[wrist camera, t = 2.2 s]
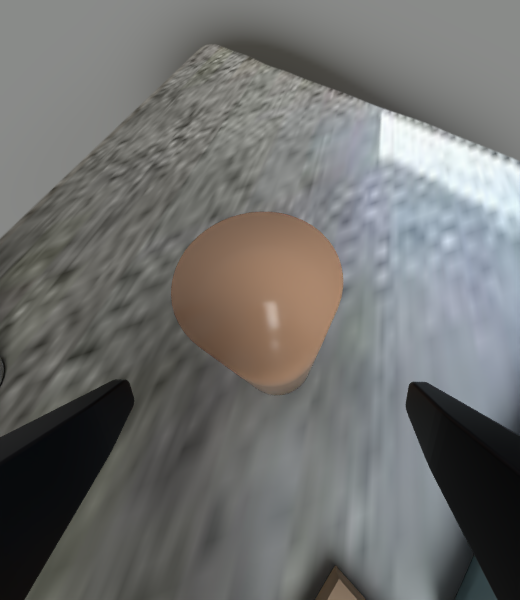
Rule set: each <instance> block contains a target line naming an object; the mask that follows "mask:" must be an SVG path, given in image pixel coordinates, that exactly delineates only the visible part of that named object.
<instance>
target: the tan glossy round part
mask: <svg viewBox="0 0 520 600" xmlns="http://www.w3.org/2000/svg"><path fill="white" fill-rule="evenodd" d="M342 290H343V273H342V267H341V264H340V261H339V258H338V255H337V253H336V251H335V249H334V248H333V246H332V245H331V243H330V242H329V241H328V239H327V238H326V237H325V236H324V235H323V234H322V233H321V232H320V231H318V230H317V229H316V228H315V227H313V226H312V225H310V224H308V223H307V222H305V221H303V220H301V219H298V218H296V217H293V216H290V215H286V214H282V213H275V212H251V213H245V214H240V215H237V216H233V217H230V218H228V219H225V220H223V221H221V222H219V223H217V224H215V225H213V226H212V227H210V228H208V229H207V230H205V231H204V232H203V233H202V234H200V235H199V236H198V237H197V238H196V239H195V240H194V241H193V242H192V243H191V244H190V245H189V247H188V248H187V249H186V250H185V252H184V253H183V255H182V257H181V258H180V260H179V262H178V264H177V267H176V269H175V272H174V275H173V280H172V286H171V298H172V306H173V310H174V314H175V316H176V318H177V321H178V323H179V325H180V326H181V328H182V329H183V331H184V333H185V334H186V335H187V336H188V337H189V338H190V339H191V340H192V341H193V342H194V343H195V344H196V345H198V346H199V347H200V348H201V349H203V350H204V351H205V352H207V353H208V354H210V355H211V356H212V357H214V358H215V359H216V360H218V361H219V362H221V363H222V364H223V365H225V366H226V367H228V368H229V369H230V370H232V371H233V372H234V373H236V374H237V375H239V376H240V377H241V378H243V379H244V380H245V381H247V382H248V383H250V384H251V385H252V386H254V387H255V388H256V389H258V390H260V391H261V392H264V393H266V394H270V395H285V394H288V393H291V392H293V391H294V390H296V389H298V388H299V387H300V386H301V385H302V384H303V383H304V382H305V380H306V379H307V377H308V375H309V372H310V370H311V368H312V366H313V363H314V361H315V359H316V357H317V354H318V352H319V350H320V347H321V345H322V343H323V341H324V338H325V336H326V334H327V332H328V329H329V327H330V325H331V322H332V320H333V318H334V316H335V313H336V311H337V309H338V306H339V303H340V300H341V297H342Z"/></svg>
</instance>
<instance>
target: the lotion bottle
mask: <svg viewBox="0 0 520 600" xmlns="http://www.w3.org/2000/svg"><path fill="white" fill-rule="evenodd" d="M3 374H4V366H3V362H2V360H1V358H0V384H1V382H2V379H3Z"/></svg>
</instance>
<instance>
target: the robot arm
mask: <svg viewBox="0 0 520 600" xmlns="http://www.w3.org/2000/svg"><path fill="white" fill-rule="evenodd" d="M133 405H134V396H133V393H132V390H131V387H130V384H129V382H128V381H127V380H122V379H117V380H113V381H111V382H109V383H107V384H105V385H103V386H101V387H99V388H97V389H95V390H93V391H91V392H89V393H87V394H85V395H83V396H81V397H79V398H77V399H75V400H73V401H71V402H69V403H67V404H65V405H63V406H61V407H59V408H57V409H55V410H53V411H51V412H50V413H48V414H46V415H44V416H42V417H40V418H38V419H36V420H34V421H32V422H30V423H28V424H26V425H24V426H22V427H20V428H18V429H16V430H14V431H12V432H10V433H8V434H6V435H4V436H2V437H0V600H25V598H26V596H27V594H28V593H29V591H30V589H31V588H32V586H33V584H34V583H35V581H36V579H37V577H38V576H39V574H40V572H41V571H42V569H43V567H44V566H45V564H46V562H47V560H48V559H49V557H50V555H51V554H52V552H53V550H54V549H55V547H56V545H57V543H58V542H59V540H60V538H61V537H62V535H63V533H64V531H65V530H66V528H67V526H68V525H69V523H70V521H71V520H72V518H73V516H74V514H75V513H76V511H77V509H78V508H79V506H80V504H81V503H82V501H83V499H84V497H85V496H86V494H87V492H88V491H89V489H90V487H91V486H92V484H93V482H94V480H95V479H96V477H97V475H98V474H99V472H100V470H101V469H102V467H103V465H104V463H105V462H106V460H107V458H108V456H109V455H110V453H111V451H112V449H113V447H114V445H115V443H116V441H117V439H118V437H119V435H120V433H121V431H122V428H123V426H124V424H125V422H126V420H127V418H128V416H129V414H130V412H131V410H132V408H133ZM406 410H407V413H408V416H409V418H410V421H411V423H412V426H413V428H414V431H415V433H416V436H417V438H418V441H419V443H420V446H421V448H422V451H423V453H424V456H425V458H426V461H427V463H428V465H429V468H430V470H431V472H432V474H433V476H434V478H435V480H436V482H437V484H438V486H439V487H440V489H441V491H442V493H443V495H444V497H445V499H446V501H447V503H448V505H449V507H450V509H451V511H452V513H453V515H454V517H455V519H456V521H457V523H458V524H459V526H460V528H461V530H462V532H463V534H464V536H465V538H466V540H467V542H468V544H469V546H470V548H471V550H472V552H473V554H474V556H475V558H476V559H477V561H478V563H479V565H480V567H481V569H482V571H483V573H484V575H485V577H486V579H487V581H488V583H489V585H490V587H491V589H492V591H493V593H494V594H495V596H496V598H497V600H520V435H518V434H516V433H514V432H513V431H511V430H509V429H507V428H506V427H504V426H502V425H500V424H499V423H497V422H495V421H493V420H492V419H490V418H488V417H486V416H485V415H483V414H481V413H479V412H478V411H476V410H474V409H472V408H471V407H469V406H467V405H466V404H464V403H462V402H460V401H459V400H457V399H455V398H453V397H452V396H450V395H448V394H446V393H445V392H443V391H441V390H439V389H438V388H436V387H434V386H432V385H431V384H429V383H427V382H411V383H410V384H409V388H408V393H407V399H406Z"/></svg>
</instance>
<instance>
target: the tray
mask: <svg viewBox="0 0 520 600" xmlns="http://www.w3.org/2000/svg"><path fill="white" fill-rule="evenodd" d="M455 600H497V598H496V596H495V594H494V593H493V591H492V589H491V587H490V585H489V583H488V581H487V579H486V577H485V575H484V573H483V571H482V569H481V567H480V565H479V563H478V561H477V559H476V558H475V556H474V557H473V559H472V561H471V563H470V566H469V568H468V570H467V573H466V575H465V577H464V579H463V582H462V584H461V586H460V589H459V591H458V593H457V596H456V598H455Z"/></svg>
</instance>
